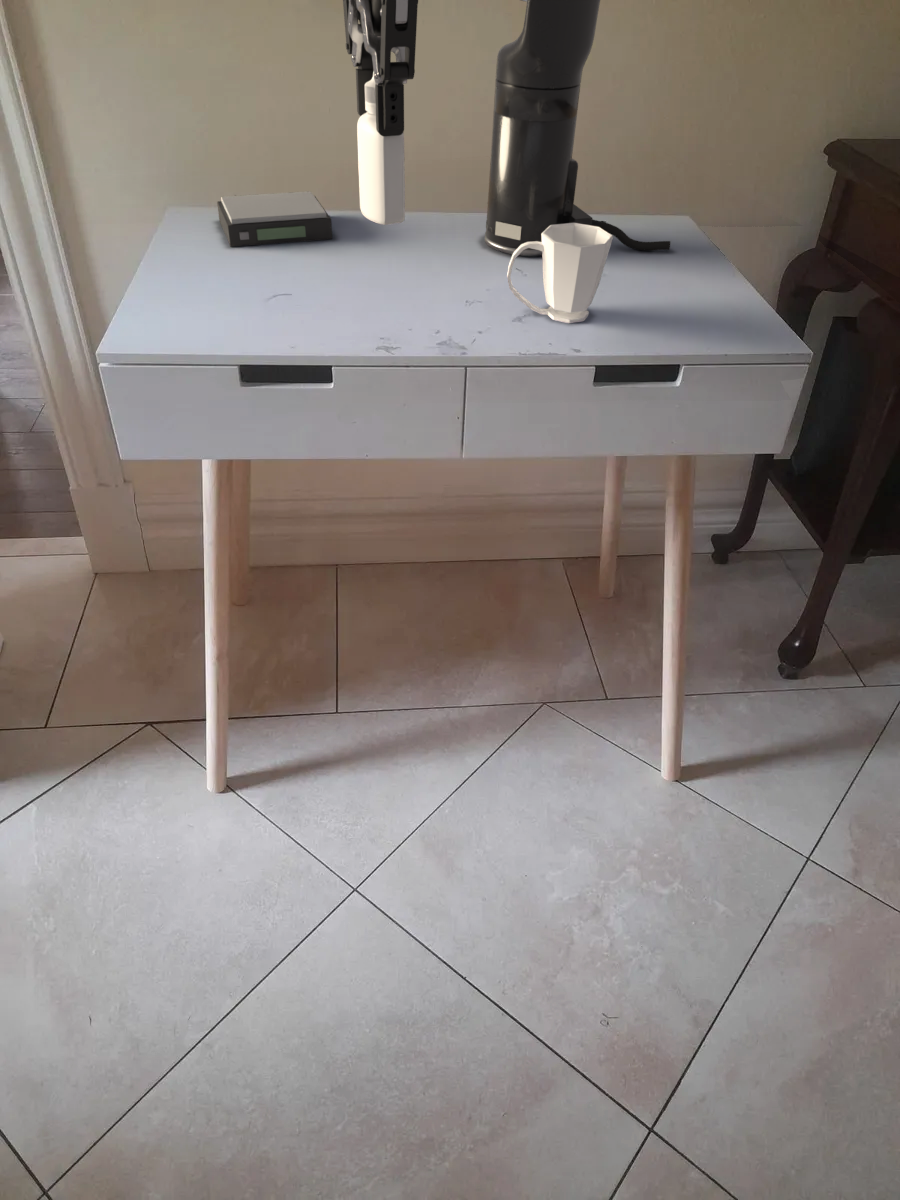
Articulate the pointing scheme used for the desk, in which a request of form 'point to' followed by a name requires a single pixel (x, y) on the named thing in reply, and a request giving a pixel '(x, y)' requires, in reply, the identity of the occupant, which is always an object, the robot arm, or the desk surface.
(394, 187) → the eye dropper bottle
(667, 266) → the desk surface
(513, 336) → the desk surface
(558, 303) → the cup
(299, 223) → the scale
